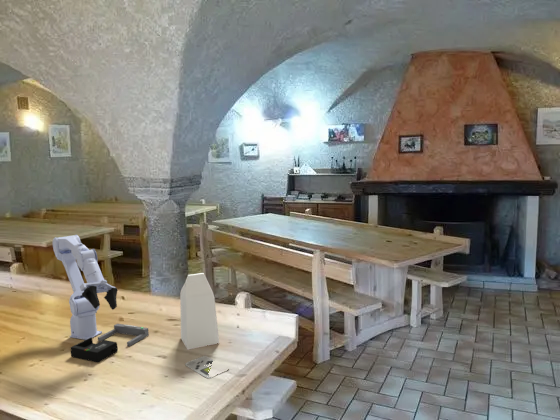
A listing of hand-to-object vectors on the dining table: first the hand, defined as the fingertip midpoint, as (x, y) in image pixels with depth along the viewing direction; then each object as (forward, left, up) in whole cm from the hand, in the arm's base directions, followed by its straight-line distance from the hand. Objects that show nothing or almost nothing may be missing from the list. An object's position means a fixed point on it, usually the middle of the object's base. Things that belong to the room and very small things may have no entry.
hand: (106, 307), depth 165 cm
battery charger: (-6, -1, -18) cm, 19 cm away
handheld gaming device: (+38, +3, -18) cm, 43 cm away
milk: (+24, +21, -18) cm, 37 cm away
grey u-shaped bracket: (-6, +13, -18) cm, 23 cm away
